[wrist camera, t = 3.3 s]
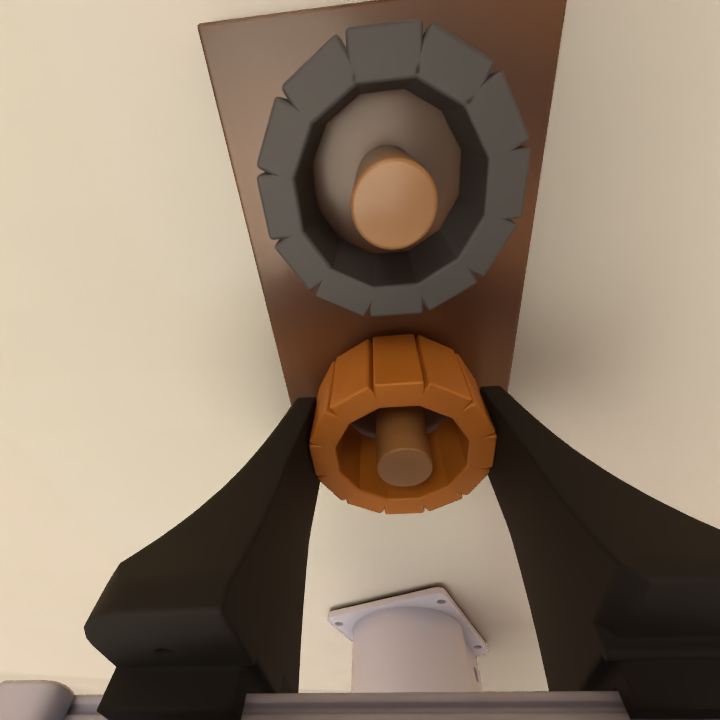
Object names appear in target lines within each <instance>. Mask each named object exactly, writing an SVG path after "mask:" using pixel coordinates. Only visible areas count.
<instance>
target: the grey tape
mask: <svg viewBox="0 0 720 720" xmlns="http://www.w3.org/2000/svg"><path fill="white" fill-rule="evenodd" d="M345 36H346V47H347V49H346V47H345V45H344V43H343V42H342V40H341V38H340V37H339V36H338V35H334V36H332V37H331V38H330V39H329V40H328V41H327V42H326V43H325V44H324V45H323V46H322V47H321V48H320V49H319V50H318V51H317V52H316V53H315V54H314V55H313V56H312V57H310V58H309V59H308V60H307V61H306V62H305V63H304V64H303V65H302V66H301V67H300V68H299V69H298V70H297V71H296V72H295V73H294V74H293V75H292V76H291V77H290V78H289V79H288V80H287V81H286V82H284V83H283V85H282V91H283V93H284V94H285V96H286V97H287V99H286V98H282V97H276V98H275V99H274V102H273V106H272V109H271V113H270V117H269V120H268V124H267V128H266V131H265V135H264V139H263V142H262V146H261V149H260V153H259V157H258V160H257V167H258V168H259V169H261V170H263V171H265V172H264V173H262V174H260V175H258V176H257V184H258V188H259V193H260V197H261V202H262V206H263V211H264V215H265V220H266V224H267V229H268V234H269V237H270V238H271V239H273V240H277V239H279V241H278V242H277V243H276V245H275V249H276V250H277V252H278V253H279V254H280V255H281V256H282V258H283V259H284V260H285V261H286V263H287V264H288V265H289V266H290V267H291V269H292V270H293V271H294V272H295V273H296V275H297V276H298V277H299V278H300V280H301V281H302V282H303V283H304V284H305V286H306V287H307V288H308V289H309V290H312V289H314V288H316V287H317V286H318V287H317V291H316V296H317V297H319V298H321V299H324V300H326V301H329V302H331V303H333V304H336V305H338V306H340V307H343V308H345V309H347V310H350V311H352V312H354V313H357V314H359V315H361V316H365V314H366V312H367V311H368V309H369V311H370V315H371V316H372V317H378V316H391V315H404V314H418V313H422V311H423V303H424V305H425V306H426V308H427V309H428V310H432V309H434V308H436V307H437V306H439V305H441V304H442V303H444V302H446V301H447V300H449V299H451V298H452V297H454V296H456V295H457V294H459V293H461V292H463V291H464V290H466V289H468V288H469V287H471V286H473V285H474V284H476V283H477V279H476V277H475V276H474V274H473V273H475V274H477V275H479V276H484V275H485V273H486V272H487V270H488V269H489V268H490V266H491V265H492V263H493V262H494V260H495V259H496V257H497V256H498V254H499V253H500V251H501V250H502V248H503V247H504V245H505V244H506V242H507V241H508V239H509V238H510V236H511V235H512V233H513V232H514V230H515V229H516V226H517V225H516V223H515V222H514V221H512V220H511V219H513V218H520V217H521V216H522V211H523V204H524V196H525V189H526V181H527V174H528V166H529V159H530V152H531V149H530V148H529V147H525V146H520V145H522V144H523V143H525V142H526V141H527V140H528V139H529V135H528V132H527V130H526V127H525V125H524V122H523V120H522V117H521V115H520V112H519V110H518V107H517V105H516V102H515V100H514V97H513V95H512V92H511V90H510V87H509V85H508V82H507V80H506V77H505V75H504V72H503V71H502V70H498V71H496V72H493V73H490V72H491V70H492V68H493V66H494V61H493V59H492V58H490V57H488V56H487V55H485V54H484V53H482V52H481V51H479V50H477V49H476V48H474V47H473V46H471V45H470V44H468V43H466V42H465V41H463V40H462V39H460V38H459V37H457V36H455V35H454V34H452V33H451V32H449V31H448V30H446V29H444V28H443V27H441V26H440V25H438V24H437V23H433V22H431V24H430V25H429V26H428V27H427V29H426V31H425V32H424V34H423V22H422V20H421V19H419V18H418V19H410V20H402V21H394V22H387V23H379V24H371V25H363V26H355V27H348V28H347V29H346V32H345ZM398 89H405V90H407V91H409V92H410V93H412V94H414V95H416V96H417V97H419V98H421V99H423V100H424V101H426V102H428V103H429V104H431V105H433V106H435V107H436V108H438V109H440V110H441V111H442V113H443V115H444V117H445V119H446V121H447V123H448V125H449V127H450V129H451V131H452V133H453V135H454V137H455V139H456V141H457V143H458V145H459V147H460V149H461V165H460V186H459V196H458V198H457V200H456V201H455V203H454V205H453V207H452V209H451V210H450V212H449V214H448V216H447V218H446V219H445V221H444V223H443V225H442V226H441V228H440V230H439V231H437V232H436V233H434V234H433V235H431V236H430V237H428V238H427V239H425V240H424V241H422V242H421V243H419V244H418V245H416V246H415V247H413V248H412V249H410V250H409V251H406V252H395V253H383V254H371V253H369V252H367V251H365V250H363V249H361V248H359V247H356V246H354V245H352V244H350V243H348V242H346V241H344V240H341V239H339V237H338V236H337V234H336V233H335V232H334V230H333V229H332V227H331V226H330V225H329V223H328V222H327V221H326V219H325V218H324V216H323V215H322V214H321V212H320V211H319V209H318V208H317V201H316V194H315V187H314V180H313V173H312V163H313V160H314V157H315V154H316V152H317V149H318V146H319V143H320V140H321V137H322V134H323V131H324V128H325V126H326V123H327V122H329V121H330V120H331V119H332V118H333V117H334V116H335V115H337V114H338V113H339V112H340V111H341V110H342V109H343V108H345V107H346V106H347V105H348V104H349V103H350V102H351V101H353V100H354V99H355V98H356V97H357V96H358V95H360V94H363V93H372V92H380V91H389V90H398Z"/></svg>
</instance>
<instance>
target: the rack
mask: <svg viewBox="0 0 720 720" xmlns="http://www.w3.org/2000/svg"><path fill="white" fill-rule="evenodd" d="M566 2H567V0H374V1H366V2H358V3H351V4H343V5H336V6H328V7H321V8H313V9H305V10H298V11H290V12H283V13H275V14H268V15H260V16H252V17H245V18H237V19H230V20H222V21H215V22H207V23H200V24H198V31H199V35H200V39H201V43H202V47H203V51H204V55H205V60H206V64H207V68H208V72H209V76H210V80H211V84H212V88H213V92H214V96H215V100H216V104H217V108H218V112H219V116H220V120H221V124H222V128H223V132H224V136H225V140H226V144H227V148H228V152H229V156H230V160H231V164H232V168H233V172H234V176H235V180H236V184H237V188H238V192H239V197H240V201H241V205H242V209H243V213H244V217H245V221H246V225H247V229H248V233H249V237H250V241H251V245H252V249H253V253H254V257H255V261H256V265H257V269H258V273H259V277H260V281H261V285H262V289H263V293H264V297H265V301H266V305H267V309H268V313H269V317H270V321H271V325H272V329H273V334H274V338H275V342H276V346H277V350H278V354H279V358H280V362H281V366H282V370H283V374H284V378H285V382H286V386H287V390H288V394H289V398H290V402H291V406H292V404H293V403H294V402H295V400H296V399H297V398H303V397H316V401H317V397H318V392H319V387H320V386H321V384H322V382H323V380H324V378H325V376H326V374H327V372H328V370H329V368H330V366H331V364H332V362H336V359H337V357H339V356H340V355H342V354H344V353H345V352H347V351H349V350H350V349H352V348H353V347H355V346H357V345H358V344H360V343H362V342H363V341H365V340H367V339H368V340H370V342H371V343H372V344H373V337H379V336H393V335H407V334H413V335H414V337H415V340H416V338H417V337H418V335H420V336H423V337H425V338H427V339H430V340H432V341H434V342H437V343H439V344H441V345H444V346H446V347H448V348H451V349H453V350H454V353H455V354H458V355H459V356H460V357H461V359H462V360H463V362H464V363H465V365H466V366H467V368H468V369H469V371H470V372H471V374H472V375H473V377H474V379H475V381H476V383H477V386H478V388H479V391H480V387H483V386H499V385H500V386H501V387H502V388H503V389H504V390H505V391H506V392H507V391H508V385H509V378H510V372H511V365H512V358H513V352H514V345H515V339H516V332H517V325H518V319H519V312H520V306H521V299H522V292H523V286H524V279H525V273H526V266H527V259H528V253H529V246H530V239H531V233H532V226H533V220H534V213H535V206H536V200H537V193H538V187H539V180H540V173H541V167H542V160H543V154H544V147H545V140H546V134H547V127H548V121H549V114H550V107H551V101H552V94H553V87H554V81H555V74H556V68H557V61H558V54H559V48H560V41H561V35H562V28H563V21H564V15H565V8H566ZM418 18H419V19H421V20H422V22H423V34H424V32H425V31H426V29H427V27H428V26H429V25H430V24H431V22H433V23H437V24H438V25H440V26H441V27H443V28H444V29H446V30H448V31H449V32H451V33H452V34H454V35H455V36H457V37H459V38H460V39H462V40H463V41H465V42H466V43H468V44H470V45H471V46H473V47H474V48H476V49H477V50H479V51H481V52H482V53H484V54H485V55H487V56H488V57H490V58H492V59H493V61H494V66H493V68H492V70H491V72H490V73H493V72H496V71H498V70H502V71H503V72H504V75H505V77H506V80H507V82H508V85H509V87H510V90H511V92H512V95H513V97H514V100H515V102H516V105H517V107H518V110H519V112H520V115H521V117H522V120H523V122H524V125H525V127H526V130H527V132H528V135H529V139H528V140H527V141H526V142H525V143H523V144H522V145H520V146H525V147H529V148H530V149H531V152H530V159H529V166H528V174H527V181H526V189H525V196H524V204H523V211H522V216H521V217H520V218H513V219H511V220H512V221H514V222H515V223H516V225H517V226H516V229H515V230H514V232H513V233H512V235H511V236H510V238H509V239H508V241H507V242H506V244H505V245H504V247H503V248H502V250H501V251H500V253H499V254H498V256H497V257H496V259H495V260H494V262H493V263H492V265H491V266H490V268H489V269H488V270H487V272H486V273H485V275H484V276H479V275H477V274H475V273H473V274H474V276H475V277H476V279H477V283H476V284H474V285H473V286H471V287H469V288H468V289H466V290H464V291H463V292H461V293H459V294H457V295H456V296H454V297H452V298H451V299H449V300H447V301H446V302H444V303H442V304H441V305H439V306H437V307H436V308H434V309H432V310H428V309H427V308H426V306H425V305H424V303H423V311H422V313H418V314H404V315H391V316H378V317H372V316H371V315H370V311H369V309H368V311H367V312H366V314H365V316H361V315H359V314H357V313H354V312H352V311H350V310H347V309H345V308H343V307H340V306H338V305H336V304H333V303H331V302H329V301H326V300H324V299H321V298H319V297H317V296H316V291H317V287H318V286H317V287H316V288H314V289H312V290H309V289H308V288H307V287H306V286H305V284H304V283H303V282H302V281H301V280H300V278H299V277H298V276H297V275H296V273H295V272H294V271H293V270H292V269H291V267H290V266H289V265H288V264H287V263H286V261H285V260H284V259H283V258H282V256H281V255H280V254H279V253H278V252H277V250H276V249H275V245H276V243H277V242H278V241H279V239H277V240H273V239H271V238H270V237H269V234H268V229H267V224H266V220H265V215H264V211H263V206H262V202H261V197H260V193H259V188H258V184H257V176H258V175H260V174H262V173H264V172H265V171H263V170H261V169H259V168H258V167H257V160H258V157H259V153H260V149H261V146H262V142H263V139H264V135H265V131H266V128H267V124H268V120H269V117H270V113H271V109H272V106H273V102H274V99H275V98H276V97H282V98H286V99H287V97H286V96H285V94H284V93H283V91H282V85H283V83H284V82H286V81H287V80H288V79H289V78H290V77H291V76H292V75H293V74H294V73H295V72H296V71H297V70H298V69H299V68H300V67H301V66H302V65H303V64H304V63H305V62H306V61H307V60H308V59H309V58H310V57H312V56H313V55H314V54H315V53H316V52H317V51H318V50H319V49H320V48H321V47H322V46H323V45H324V44H325V43H326V42H327V41H328V40H329V39H330V38H331V37H332V36H334V35H338V36H339V37H340V38H341V40H342V42H343V43H344V45H345V47H346V36H345V32H346V29H347V28H348V27H355V26H363V25H371V24H379V23H387V22H394V21H402V20H410V19H418ZM346 49H347V47H346ZM460 165H461V149H460V147H459V145H458V143H457V141H456V139H455V137H454V135H453V133H452V131H451V129H450V127H449V125H448V123H447V121H446V119H445V117H444V115H443V113H442V111H441V110H440V109H438V108H436V107H435V106H433V105H431V104H429V103H428V102H426V101H424V100H423V99H421V98H419V97H417V96H416V95H414V94H412V93H410V92H409V91H407V90H405V89H398V90H389V91H380V92H372V93H363V94H360V95H358V96H357V97H356V98H355V99H354V100H353V101H351V102H350V103H349V104H348V105H347V106H346V107H345V108H343V109H342V110H341V111H340V112H339V113H338V114H337V115H335V116H334V117H333V118H332V119H331V120H330V121H329V122H327V123H326V126H325V128H324V131H323V134H322V137H321V140H320V143H319V146H318V149H317V152H316V154H315V157H314V160H313V163H312V173H313V180H314V187H315V194H316V201H317V208H318V209H319V211H320V212H321V214H322V215H323V216H324V218H325V219H326V221H327V222H328V223H329V225H330V226H331V227H332V229H333V230H334V232H335V233H336V234H337V236H338V237H339V239H341V240H344V241H346V242H348V243H350V244H352V245H354V246H356V247H359V248H361V249H363V250H365V251H367V252H369V253H371V254H383V253H395V252H406V251H409V250H410V249H412V248H413V247H415V246H416V245H418V244H419V243H421V242H422V241H424V240H425V239H427V238H428V237H430V236H431V235H433V234H434V233H436V232H437V231H439V230H440V228H441V226H442V225H443V223H444V221H445V219H446V218H447V216H448V214H449V212H450V210H451V209H452V207H453V205H454V203H455V201H456V200H457V198H458V196H459V186H460ZM446 417H447V416H445V415H442V414H439V413H437V412H434V411H432V410H429V409H426V408H424V407H421V406H404V407H387V408H379V409H377V410H375V411H373V412H371V413H369V414H367V415H365V416H364V417H362V418H360V419H358V420H356V421H354V422H352V423H351V424H352V425H353V426H354V427H355V428H356V429H357V431H358V432H359V433H360V434H363V435H365V436H368V437H371V438H374V439H376V462H377V472H378V474H379V476H380V477H381V478H382V479H383V480H384V481H385V482H387V483H389V484H391V485H394V486H400V487H408V486H414V485H417V484H419V483H422V482H423V481H425V480H426V479H427V478H428V477H429V476H430V474H431V472H432V470H433V461H432V456H431V450H430V445H429V439H428V433H430V432H433V431H435V430H437V428H438V427H439V426H440V424H441V423H442V422H443V421H444V419H445V418H446Z"/></svg>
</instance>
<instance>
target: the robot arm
mask: <svg viewBox="0 0 720 720" xmlns="http://www.w3.org/2000/svg"><path fill="white" fill-rule="evenodd" d="M480 393H481V396H482V398H483V400H484V403H485V405H486V408H487V410H488V413H489V415H490V417H491V420H492V422H493V425H494V427H495V433H496V435H497V441H496V448H495V455H494V462H493V467H490V472H489V473H488V476H489V479H490V482H491V484H492V487H493V489H494V492H495V495H496V497H497V500H498V502H499V505H500V507H501V510H502V513H503V515H504V518H505V520H506V523H507V526H508V529H509V532H510V535H511V538H512V541H513V545H514V549H515V552H516V556H517V559H518V563H519V567H520V570H521V574H522V578H523V582H524V586H525V590H526V593H527V597H528V601H529V605H530V609H531V613H532V618H533V622H534V626H535V630H536V634H537V638H538V642H539V647H540V651H541V656H542V660H543V665H544V669H545V674H546V678H547V683H548V688H549V691H536V692H483V689H482V684H481V679H480V674H479V669H478V664H477V659H476V656H482V655H486V654H488V653H489V649H488V645H487V644H486V643H485V641H484V640H483V639H482V638H481V636H480V635H479V634H478V632H477V631H476V630H475V628H474V627H473V626H472V624H471V623H470V622H469V620H468V619H467V618H466V617H465V615H464V614H463V613H462V611H461V610H460V609H459V607H458V606H457V605H456V603H455V602H454V601H453V599H452V598H451V597H450V596H449V594H448V593H447V592H446V590H445V589H443V588H441V587H434V588H429V589H425V590H421V591H416V592H412V593H408V594H403V595H399V596H395V597H390V598H386V599H381V600H377V601H373V602H368V603H364V604H360V605H355V606H351V607H347V608H342V609H338V610H333V611H330V612H329V613H328V621H329V622H330V623H331V624H332V625H333V626H334V627H336V628H337V629H338V630H339V631H340V632H341V633H343V634H344V635H345V636H346V637H347V638H349V639H350V640H351V641H352V642H353V649H352V681H351V693H298V688H299V668H300V649H301V633H302V618H303V604H304V591H305V579H306V567H307V557H308V546H309V539H310V532H311V526H312V521H313V516H314V511H315V506H316V501H317V495H318V490H319V485H320V481H319V479H318V476H317V475H315V472H314V467H313V463H312V459H311V455H310V450H309V442H310V434H311V429H312V424H313V418H314V413H315V408H316V402H317V401H316V397H303V398H297V399H296V400H295V402H294V403H293V404H292V406H291V407H290V409H289V410H288V412H287V413H286V415H285V416H284V417H283V419H282V420H281V421H280V423H279V424H278V426H277V427H276V428H275V430H274V431H273V432H272V433H271V435H270V436H269V437H268V439H267V440H266V441H265V442H264V444H263V445H262V446H261V447H260V449H259V450H258V451H257V452H256V453H255V454H254V456H253V457H252V458H251V459H250V460H249V461H248V462H247V464H246V465H245V466H244V467H243V468H242V469H241V470H240V471H239V472H238V473H237V474H236V475H235V476H234V477H233V478H232V479H231V480H230V481H229V482H228V483H227V484H226V485H225V486H224V487H223V488H222V489H221V490H220V491H218V492H217V493H216V494H215V495H214V496H213V497H212V498H210V499H209V500H208V501H207V502H206V503H205V504H203V505H202V506H201V507H200V508H199V509H198V510H196V511H195V512H194V513H192V514H191V515H190V516H189V517H187V518H186V519H185V520H183V521H182V522H181V523H179V524H178V525H177V526H175V527H174V528H173V529H171V530H170V531H168V532H167V533H166V534H164V535H163V536H161V537H160V538H158V539H157V540H156V541H154V542H152V543H151V544H149V545H148V546H146V547H145V548H143V549H142V550H140V551H139V552H137V553H136V554H134V555H133V556H131V557H129V558H128V559H126V560H125V561H123V562H121V563H120V564H119V566H118V567H117V569H116V570H115V572H114V574H113V575H112V577H111V578H110V580H109V582H108V584H107V585H106V587H105V589H104V591H103V593H102V594H101V596H100V598H99V600H98V602H97V603H96V605H95V607H94V609H93V611H92V613H91V614H90V616H89V618H88V620H87V622H86V624H85V626H84V630H85V635H86V638H87V639H88V640H89V642H90V643H91V644H92V645H93V646H94V647H95V648H96V649H97V650H98V651H99V652H101V653H102V654H103V655H104V656H105V657H106V658H107V659H108V660H109V661H111V662H112V663H113V664H114V665H115V666H116V669H115V671H114V674H113V676H112V678H111V680H110V682H109V684H108V687H107V689H106V691H105V693H104V695H74V692H73V691H72V690H71V689H70V688H69V687H67V686H66V685H64V684H62V683H59V682H55V681H47V680H22V681H4V682H2V683H0V720H720V529H717V528H715V527H713V526H710V525H708V524H706V523H704V522H701V521H699V520H697V519H695V518H692V517H690V516H688V515H686V514H684V513H682V512H680V511H678V510H676V509H674V508H672V507H670V506H668V505H666V504H664V503H662V502H660V501H658V500H656V499H654V498H652V497H651V496H649V495H647V494H645V493H643V492H641V491H640V490H638V489H636V488H634V487H633V486H631V485H629V484H627V483H626V482H624V481H622V480H620V479H619V478H617V477H615V476H614V475H612V474H610V473H609V472H607V471H606V470H604V469H602V468H601V467H599V466H598V465H596V464H595V463H593V462H592V461H590V460H589V459H587V458H586V457H584V456H583V455H581V454H580V453H579V452H577V451H576V450H574V449H573V448H572V447H570V446H569V445H568V444H566V443H565V442H564V441H563V440H561V439H560V438H559V437H557V436H556V435H555V434H554V433H552V432H551V431H550V430H549V429H547V428H546V427H545V426H544V425H543V424H542V423H540V422H539V421H538V420H537V419H536V418H535V417H533V416H532V415H531V414H530V413H529V412H528V411H527V410H526V409H525V408H523V407H522V406H521V405H520V404H519V403H518V402H517V401H516V400H515V399H514V398H513V397H512V396H511V395H509V394H508V393H507V392H506V391H505V390H504V389H503V388H502V387H501V386H500V385H499V386H483V387H480Z"/></svg>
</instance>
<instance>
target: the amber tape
mask: <svg viewBox="0 0 720 720" xmlns="http://www.w3.org/2000/svg"><path fill="white" fill-rule="evenodd" d="M404 406H421V407H424V408H426V409H429V410H432V411H434V412H437V413H439V414H442V415H445V416H447V417H446V418H445V419H444V421H443V422H442V423H441V424H440V426H439V427H438V428H437V430H435V431H433V432H430V433H428V439H429V445H430V450H431V456H432V461H433V470H432V472H431V474H430V476H429V477H428V478H427V479H426V480H425V481H423V482H422V483H419V484H417V485H414V486H408V487H400V486H394V485H391V484H389V483H387V482H385V481H384V480H383V479H382V478H381V477H380V476H379V474H378V472H377V462H376V439H374V438H371V437H368V436H365V435H363V434H360V433H359V432H358V431H357V429H356V428H355V427H354V426H353V425H352V424H351V423H352V422H354V421H356V420H358V419H360V418H362V417H364V416H365V415H367V414H369V413H371V412H373V411H375V410H377V409H379V408H387V407H404ZM496 441H497V435H496V433H495V427H494V425H493V422H492V420H491V417H490V415H489V413H488V410H487V408H486V405H485V403H484V400H483V398H482V396H481V393H480V391H479V388H478V386H477V383H476V381H475V379H474V377H473V375H472V374H471V372H470V371H469V369H468V368H467V366H466V365H465V363H464V362H463V360H462V359H461V357H460V356H459V355H458V354H455V353H454V350H453V349H451V348H448V347H446V346H444V345H441V344H439V343H437V342H434V341H432V340H430V339H427V338H425V337H423V336H420V335H418V337H417V338H416V340H415V337H414V335H413V334H407V335H393V336H379V337H373V344H372V343H371V342H370V340H368V339H367V340H365V341H363V342H362V343H360V344H358V345H357V346H355V347H353V348H352V349H350V350H349V351H347V352H345V353H344V354H342V355H340V356H339V357H337V359H336V362H332V364H331V366H330V368H329V370H328V372H327V374H326V376H325V378H324V380H323V382H322V384H321V386H320V387H319V392H318V397H317V402H316V408H315V413H314V418H313V424H312V429H311V434H310V442H309V450H310V455H311V459H312V463H313V467H314V472H315V475H317V476H318V479H319V481H320V482H322V483H323V484H324V485H325V486H326V487H327V488H328V489H329V490H331V491H332V492H333V493H334V494H335V495H336V496H337V497H338V498H340V499H341V500H345V499H347V503H348V504H352V505H355V506H358V507H361V508H365V509H368V510H371V511H374V512H378V513H381V512H382V511H383V510H384V509H385V513H386V514H406V513H423V512H424V507H425V508H426V509H427V510H428V511H431V510H434V509H436V508H439V507H441V506H444V505H446V504H449V503H452V502H454V501H457V500H459V499H461V498H462V494H465V495H467V494H469V493H470V492H471V491H472V490H473V489H474V488H475V487H476V486H477V485H478V484H479V483H480V482H481V481H482V480H483V478H484V477H485V476H486V475H487V474H488V473H489V472H490V467H493V462H494V455H495V448H496Z"/></svg>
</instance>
